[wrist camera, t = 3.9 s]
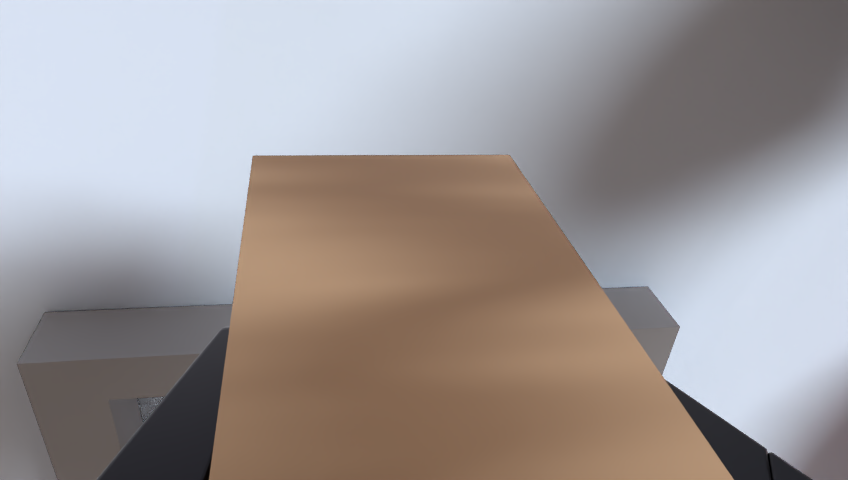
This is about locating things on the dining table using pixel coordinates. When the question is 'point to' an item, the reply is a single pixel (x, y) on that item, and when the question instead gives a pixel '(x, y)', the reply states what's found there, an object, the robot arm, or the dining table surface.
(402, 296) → the plug
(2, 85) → the dining table surface
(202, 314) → the socket plate
